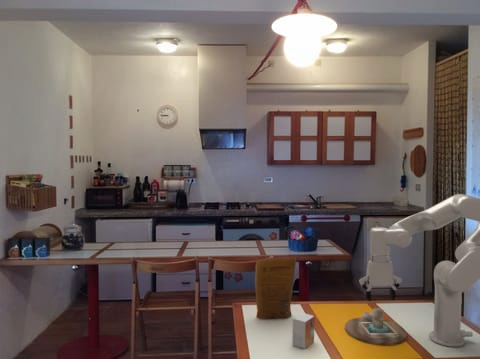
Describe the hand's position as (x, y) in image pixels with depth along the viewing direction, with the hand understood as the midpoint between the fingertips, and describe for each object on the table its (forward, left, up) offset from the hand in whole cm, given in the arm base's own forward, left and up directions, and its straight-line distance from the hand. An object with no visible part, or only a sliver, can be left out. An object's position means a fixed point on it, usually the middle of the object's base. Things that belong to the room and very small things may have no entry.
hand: (380, 299), depth 165 cm
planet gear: (+1, 0, -13) cm, 13 cm away
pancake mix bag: (+41, -19, -15) cm, 47 cm away
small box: (+33, +7, -15) cm, 37 cm away
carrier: (+1, -3, -15) cm, 15 cm away
